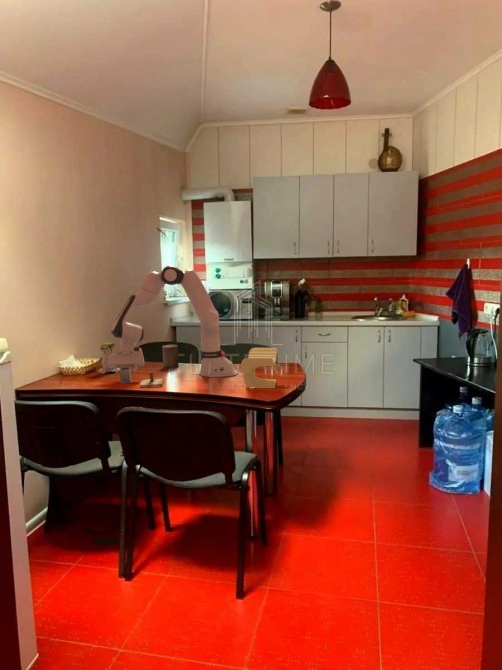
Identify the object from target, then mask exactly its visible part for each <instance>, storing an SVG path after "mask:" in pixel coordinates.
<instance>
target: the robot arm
mask: <svg viewBox="0 0 502 670" xmlns="http://www.w3.org/2000/svg"><path fill="white" fill-rule="evenodd" d="M178 284H179V285H180V286H182V288H183V290H184V293H185V294H186V295H187V298H188V300H189V302H190V304H191V306H192V308H193V310H194V312H195V314H196V316H197V319H198V320H199V322H200V360H201V361H200V368H199V369H200V370H199V375H200V376H202V377H208V378H219V377H220V378H221V377H222V378H223V377H230V376H231V377H232V376H237V375H238V370H236V369H235V367H234V364H233V362H232V361H231V360H230V359H228V358H227V357H225V354H226V353H225V352H224V351H223V350H222V349H221V337H220V314H219V312H218V310H217V309H216V307H215V306H214V303H213V302H212V299H211V297H210V295H209V293H208V292H207V289H206V287H205V285H204V284H203V282H202V280H201V279H200V277H199V275H198V274H197V273H196V271H194V269H185V270H181V269H180V268H178V267H177V266H175V265H171V264H170V265H166V266H165V267H163V269H162V270H161V271H160V272H158V271H152V270H151V271H148V272H147V274H146V275H145V278H143V280H142V282H141V285H140V288H139V289H138V291H137V292H136V293H135V294H134V293H133V294H131V295H130V297H129V298H128V299H127V301H126V303H125V304H124V306H123V308H122V309H121V311H120V312H119V315H118V317H117V318H116V319H115V321H113V324H112V326H111V328H110V332H111V334H112V335H113V337H114V338H119V346H118V347H119V349H118V351H117V352H112V353H110V354H109V355H108V366H109V368H114V369H115V373H114V374H119V373H120V371H118V369H117V368H130V367H131V368H132V373H133V374H136V372H137V370H138V368H139V367H144V366H145V358H144V354H143V349H142V348H141V347H137V346H136V345H138V344H139V343H141V342H142V341H143V340H144V338H145V330H144V328H143V326H141V325H138V324H135V323H131V322H127V321H126V320H128V317H129V315H130V313H131V312H132V310H133V309H135V308H137V307H146V306H147V307H148V306H151V305H154V304H155V303H156V302H157V300H158V298H159V295H160V293H161V290H162V288H163V286H164V285H169V286H174V285H178Z"/></svg>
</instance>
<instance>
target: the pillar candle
mask: <svg viewBox="0 0 502 670" xmlns="http://www.w3.org/2000/svg"><path fill="white" fill-rule="evenodd" d="M162 362H163V366H162V367H163V368H164V369H176V368H179V367H180V366H179V365H180V364H179V347H178V344H167V345H162Z"/></svg>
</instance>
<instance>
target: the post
mask: <svg viewBox="0 0 502 670" xmlns="http://www.w3.org/2000/svg"><path fill="white" fill-rule="evenodd" d="M149 378H150V379H149ZM149 378H148V379H141V381H140V383H139V388H140V387H144V388H159V387H160V386H162V387H163V386H164V383H165V382H164V381H165V379H164V378H154V372H149Z"/></svg>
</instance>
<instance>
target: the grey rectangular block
mask: <svg viewBox="0 0 502 670" xmlns="http://www.w3.org/2000/svg"><path fill="white" fill-rule="evenodd" d="M119 369H120V371H119V379H120V380H119V381H120V384H121V385H125V384H126V385H127V384H128V385H129V384H131V383H132V371H131V369H132V367H120V368H119Z"/></svg>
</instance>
